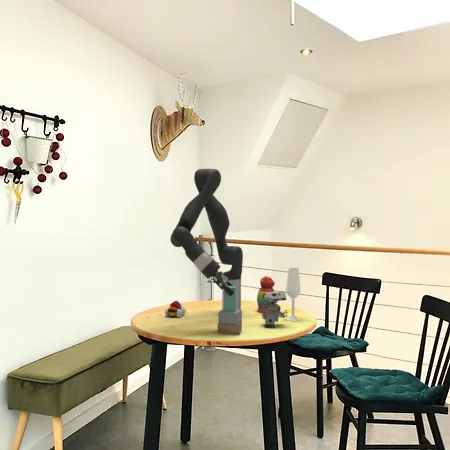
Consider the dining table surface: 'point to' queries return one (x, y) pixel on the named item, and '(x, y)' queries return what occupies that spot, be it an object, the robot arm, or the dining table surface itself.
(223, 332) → the walnut base block
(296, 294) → the champagne flute
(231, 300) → the green block
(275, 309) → the figurine
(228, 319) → the gray top block
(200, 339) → the dining table surface
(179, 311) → the rainbow petal toy
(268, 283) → the stacking bear
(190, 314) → the dining table surface
